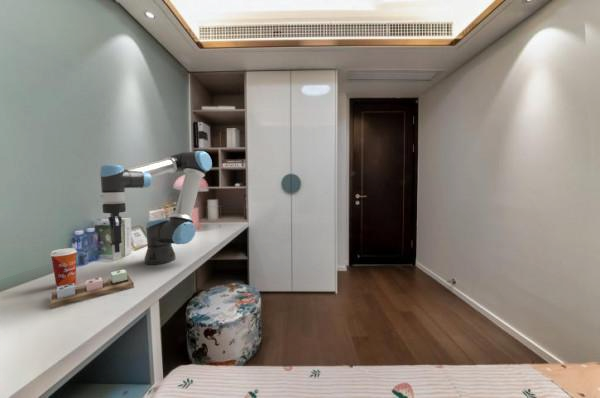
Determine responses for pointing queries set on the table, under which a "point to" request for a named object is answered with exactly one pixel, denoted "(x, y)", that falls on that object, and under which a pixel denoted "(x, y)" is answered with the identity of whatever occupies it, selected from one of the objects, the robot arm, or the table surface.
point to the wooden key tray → (91, 292)
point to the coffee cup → (64, 266)
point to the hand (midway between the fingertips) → (117, 259)
